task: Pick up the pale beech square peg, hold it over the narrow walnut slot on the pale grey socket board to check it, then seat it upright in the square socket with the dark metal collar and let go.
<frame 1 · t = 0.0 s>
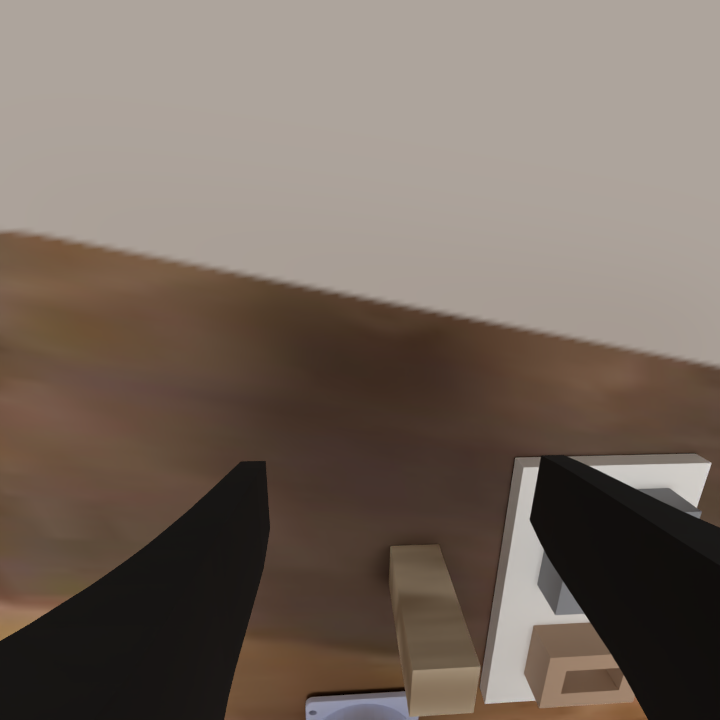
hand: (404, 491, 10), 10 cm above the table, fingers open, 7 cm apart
beech peg: (413, 564, 23), on the table
socket board: (576, 582, 25), on the table
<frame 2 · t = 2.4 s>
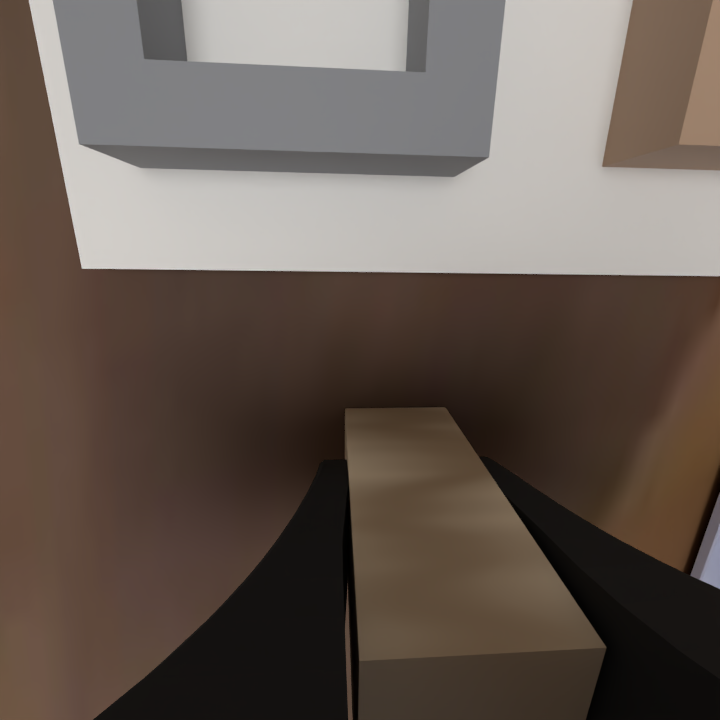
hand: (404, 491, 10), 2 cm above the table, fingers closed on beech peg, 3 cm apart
beech peg: (393, 452, 12), on the table, touching gripper
socket board: (502, 19, 8), on the table
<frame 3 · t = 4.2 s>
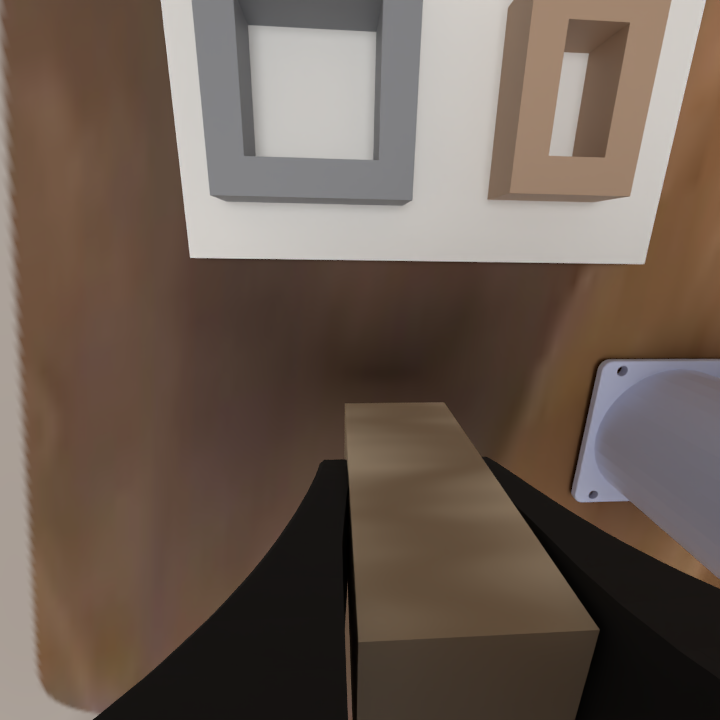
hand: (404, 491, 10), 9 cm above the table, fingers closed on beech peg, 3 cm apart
beech peg: (392, 447, 12), point 7 cm above the table, touching gripper
socket board: (429, 116, 15), on the table
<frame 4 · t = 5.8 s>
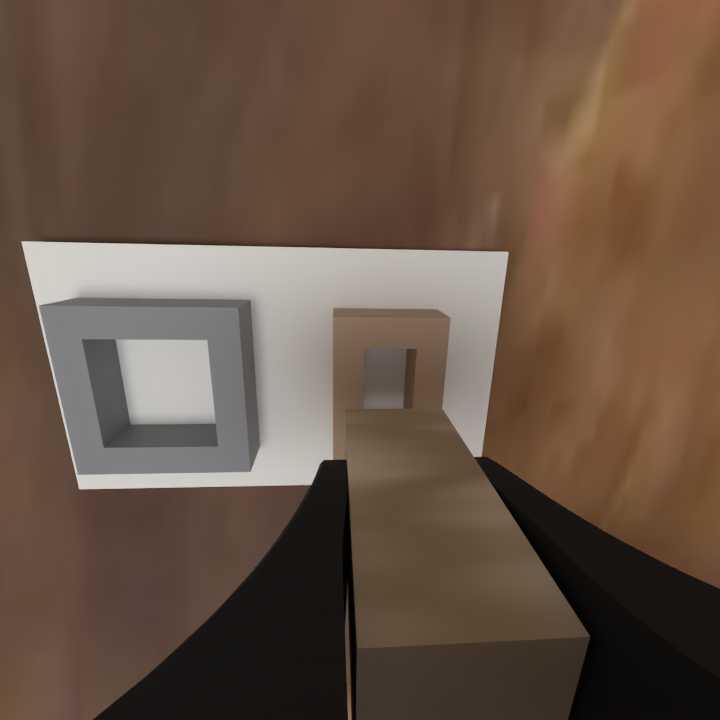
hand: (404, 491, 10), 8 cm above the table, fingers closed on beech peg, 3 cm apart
beech peg: (391, 452, 12), point 6 cm above the table, touching gripper
socket board: (283, 370, 17), on the table
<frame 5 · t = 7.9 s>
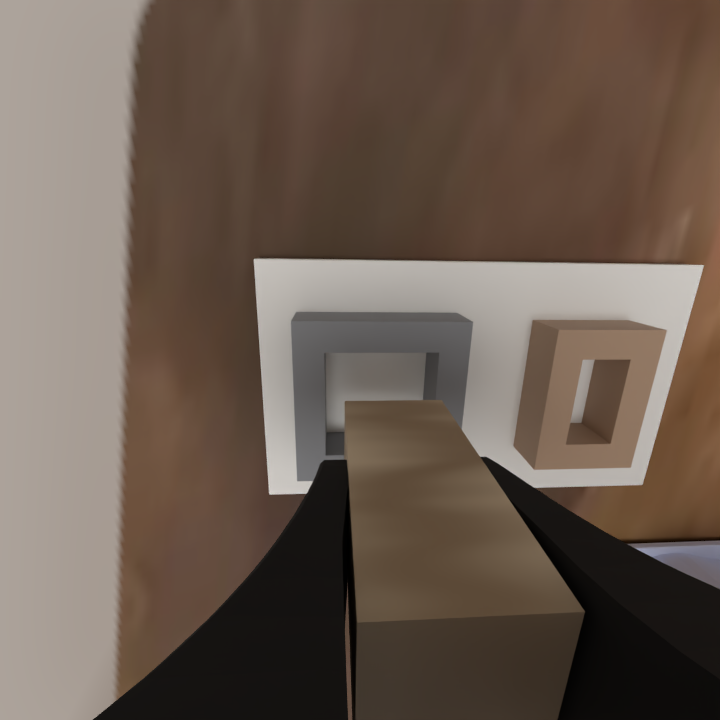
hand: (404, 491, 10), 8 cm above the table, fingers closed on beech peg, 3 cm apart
beech peg: (391, 443, 12), point 6 cm above the table, touching gripper
socket board: (466, 379, 18), on the table
when the fingers open (4 cm above the table, at t = 9.4 s): beech peg stays where it is, resting on socket board.
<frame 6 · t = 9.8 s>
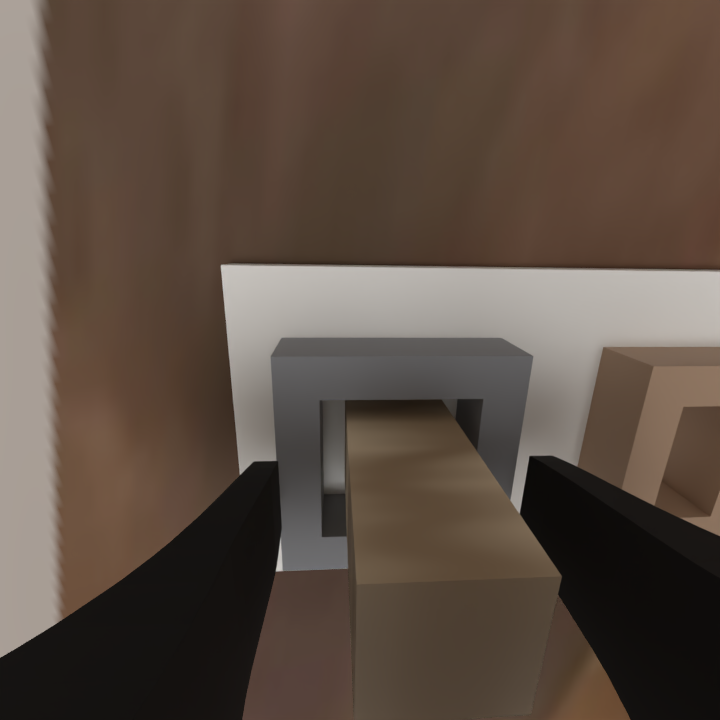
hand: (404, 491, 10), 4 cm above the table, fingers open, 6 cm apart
beech peg: (389, 435, 12), point 1 cm above the table, touching socket board
socket board: (507, 421, 14), on the table
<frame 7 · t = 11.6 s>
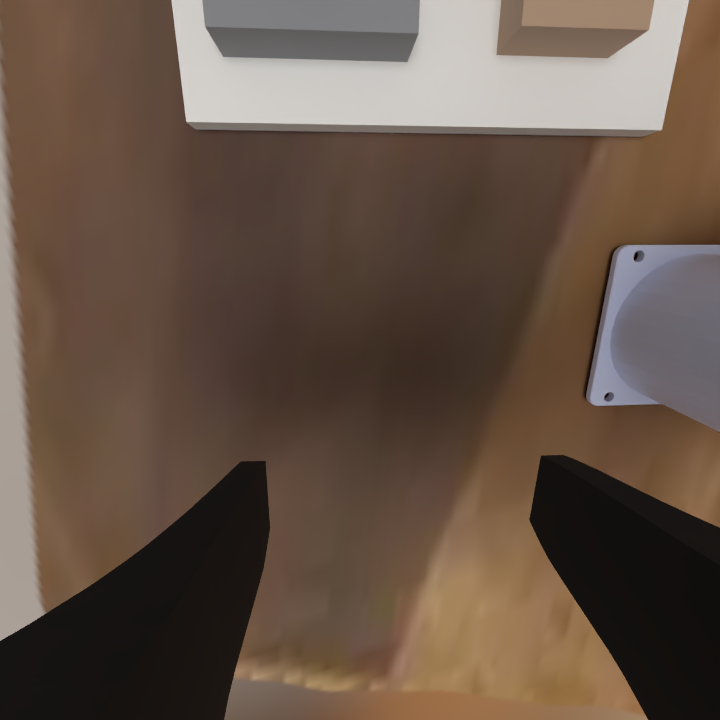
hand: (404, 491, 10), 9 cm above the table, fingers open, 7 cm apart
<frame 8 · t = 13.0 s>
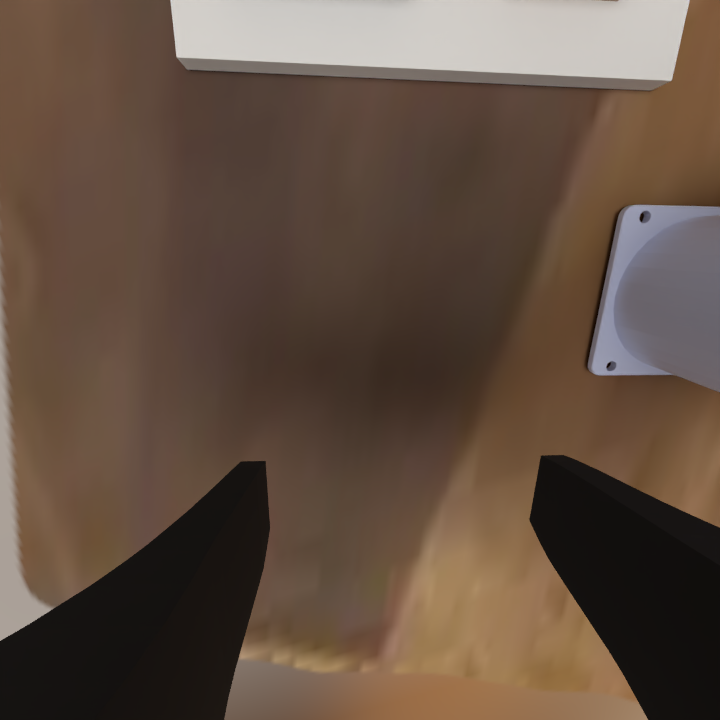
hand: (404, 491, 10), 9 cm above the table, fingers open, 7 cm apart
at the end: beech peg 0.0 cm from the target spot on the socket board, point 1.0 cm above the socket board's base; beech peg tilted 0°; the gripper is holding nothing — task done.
